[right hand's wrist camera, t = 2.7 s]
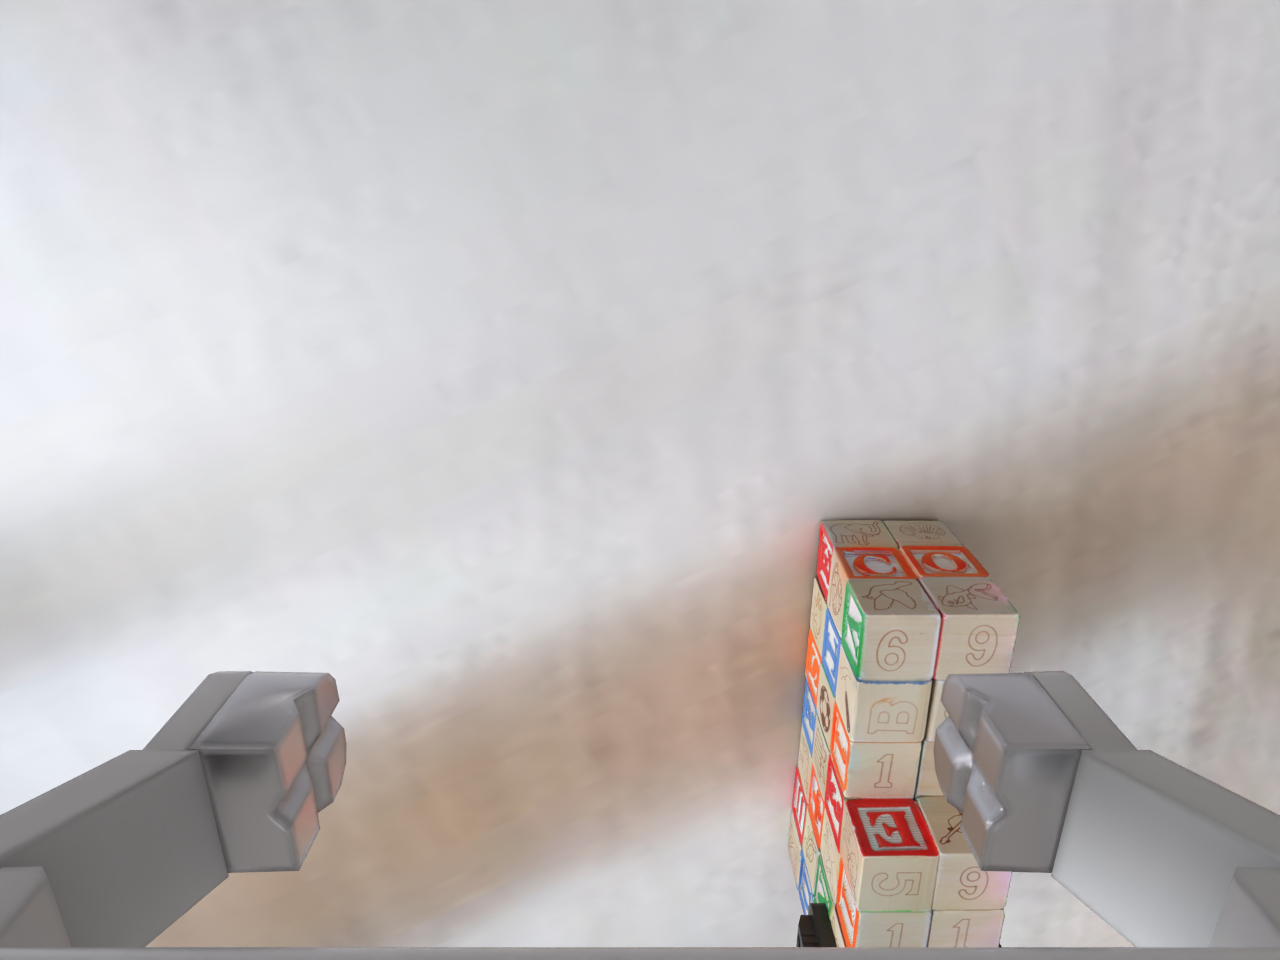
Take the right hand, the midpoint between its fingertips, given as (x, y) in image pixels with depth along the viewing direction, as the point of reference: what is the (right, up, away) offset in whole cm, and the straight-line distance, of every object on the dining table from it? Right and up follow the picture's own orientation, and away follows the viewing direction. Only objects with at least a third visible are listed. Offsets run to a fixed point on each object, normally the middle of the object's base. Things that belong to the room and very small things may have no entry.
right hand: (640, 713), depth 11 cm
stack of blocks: (+12, -9, +32) cm, 36 cm away
